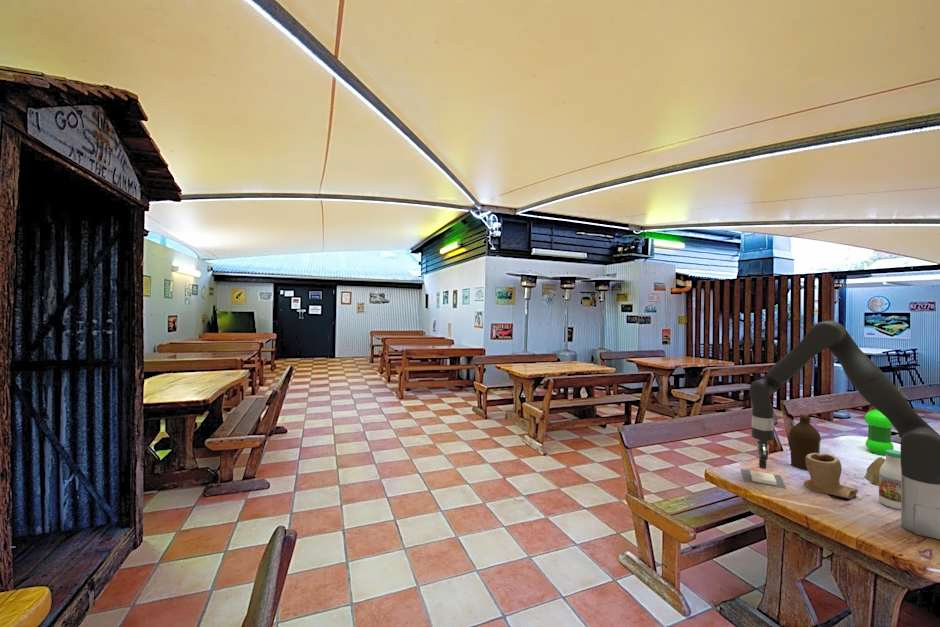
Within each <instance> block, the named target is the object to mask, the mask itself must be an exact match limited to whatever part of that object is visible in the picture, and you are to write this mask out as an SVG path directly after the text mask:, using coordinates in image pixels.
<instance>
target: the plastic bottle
mask: <svg viewBox="0 0 940 627" xmlns="http://www.w3.org/2000/svg"><path fill="white" fill-rule="evenodd" d="M864 422H865V423H866V424H867V425H868V426H867V428H868V429H867V434H868V435H867V436H868V437H867V439H866V441H865V447H866V448H867V449H868V450H869V451H871V453H873V454H876V455H880V456H882V455H883V456H885V455H886V454H885V451H886V450H894V446H895V445H894V444H893V442H892V440H891V439H892V428H894V426H893V425H892V423H891V422H890V421H889V420H888V419H887V418H886V417H885V416H884V415H883V414H882V413H881V412H880V411H878V410H877V409H876V408H875V407H874V409H872V410H870V411H868V412H866V414H865V415H864Z"/></svg>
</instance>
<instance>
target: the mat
mask: <svg viewBox="0 0 940 627" xmlns="http://www.w3.org/2000/svg"><path fill="white" fill-rule="evenodd" d="M750 471H752V470H750V469H745V468H744V469H743V468H740V472H741V476H742V481H743V482H746V483H752V484H756V485H763V486H768V487H773V488H780V489H784V490H786V489H787V487H786V485H785V483H784V480H783V478H782V476H781V475H778V474H775V473H774V474H773V473H772V474H773V475H774V477H775V479H776V482H777V485H776V486H774V485H769V484H764V483H758V482H753V481H752V479H751V475H750ZM755 471H756V472H758V471H757V470H755Z"/></svg>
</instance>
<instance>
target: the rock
mask: <svg viewBox="0 0 940 627" xmlns="http://www.w3.org/2000/svg"><path fill="white" fill-rule="evenodd" d="M885 460H886V458H884V457H880V456H879V457H877V458H876V459H874V461H873V462H871V464H869V465H868V467H867V468H866V473H865V476H864V477H865V479H867V480H868V481H869V482H870V483H871V484H873V485H877V486H879V471H880V468H881V466H882V465H883V463H884V462H885Z"/></svg>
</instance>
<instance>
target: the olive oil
mask: <svg viewBox="0 0 940 627" xmlns="http://www.w3.org/2000/svg"><path fill="white" fill-rule="evenodd" d="M799 415H800V416H799V422H798V423H796V424H795V425H793V426H792V427H791V428H790V430H789V432H788V434H789V435H788V436H789V447H790V450H789V451H790V466H792V467H794V468H796V469H798V470H799V469H800V470H801V471H807V472H808V470H807V467H806V461H805V458H806V456H807V455H808V454H811V453H819V454H821V453H820V452H821V451H820V450H821V439H822V438H821V434H820V432H819V431H818V430H817V429H816V428H815V427H814V425H812V424H811V423H810V420H811V417H810V414H808V413H799Z"/></svg>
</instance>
